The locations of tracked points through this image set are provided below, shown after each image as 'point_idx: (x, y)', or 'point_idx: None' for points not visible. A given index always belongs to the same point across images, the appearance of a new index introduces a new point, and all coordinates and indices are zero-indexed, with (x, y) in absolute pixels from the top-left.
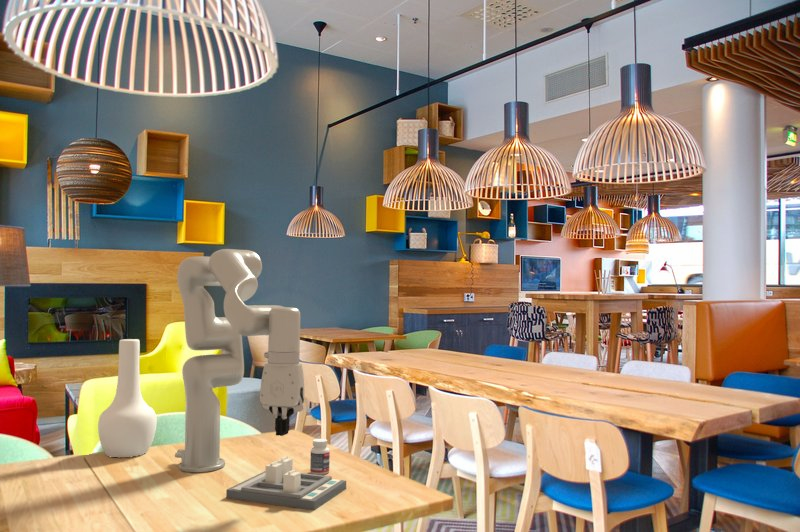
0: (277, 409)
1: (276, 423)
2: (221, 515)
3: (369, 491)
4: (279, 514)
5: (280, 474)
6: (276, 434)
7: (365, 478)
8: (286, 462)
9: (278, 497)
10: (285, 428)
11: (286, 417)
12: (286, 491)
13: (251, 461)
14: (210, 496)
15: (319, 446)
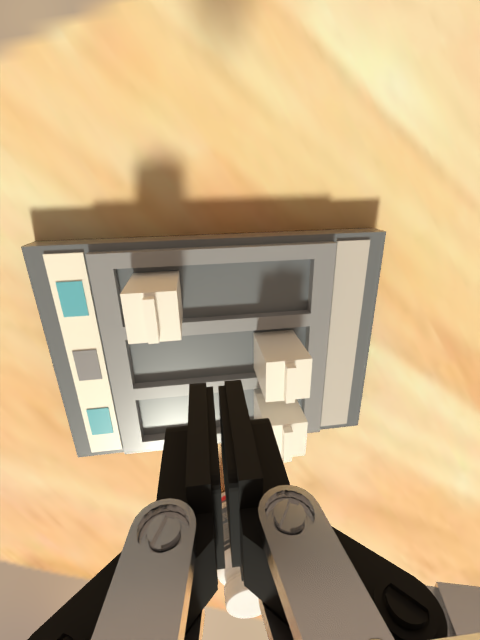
0: (290, 621)
1: (247, 440)
2: (299, 59)
3: (7, 449)
4: (115, 154)
5: (258, 371)
6: (235, 381)
7: (94, 520)
8: None
9: (177, 239)
10: (168, 442)
11: (133, 533)
12: (164, 273)
13: (443, 494)
14: (425, 221)
15: (238, 574)
